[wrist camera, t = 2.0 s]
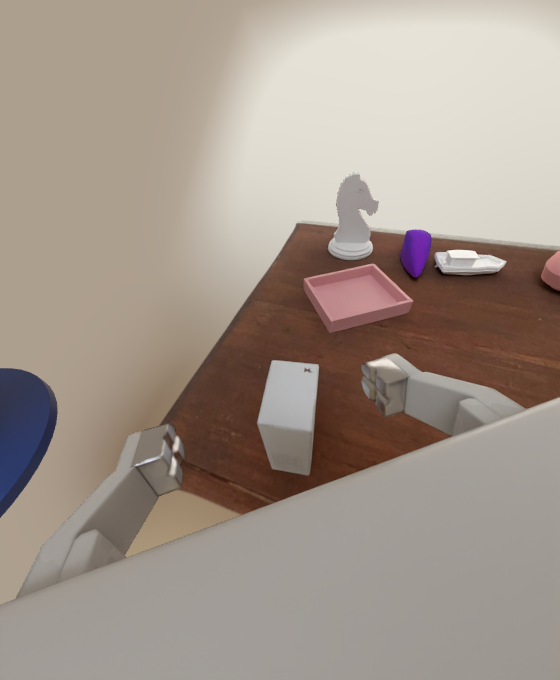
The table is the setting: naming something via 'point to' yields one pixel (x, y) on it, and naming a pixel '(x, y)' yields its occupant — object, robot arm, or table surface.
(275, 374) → the cosmetic box
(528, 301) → the table surface
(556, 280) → the pink vase
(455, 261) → the white toy boat
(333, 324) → the tray
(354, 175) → the chess piece
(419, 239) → the purple rounded wedge
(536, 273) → the table surface
